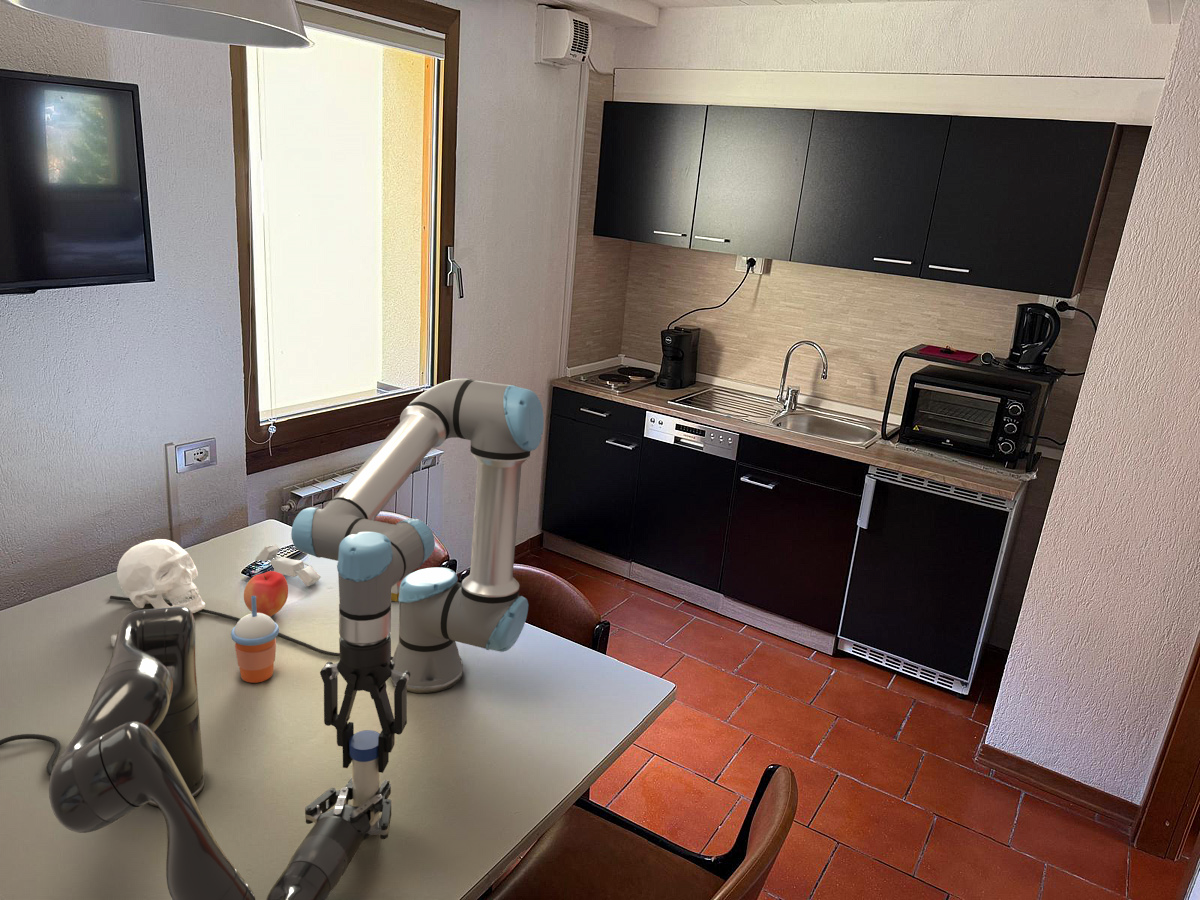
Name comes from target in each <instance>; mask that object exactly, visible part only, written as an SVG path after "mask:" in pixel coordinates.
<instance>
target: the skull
mask: <svg viewBox="0 0 1200 900" xmlns="http://www.w3.org/2000/svg"><path fill="white" fill-rule="evenodd" d="M198 575H199V572H198V569H197V566H196V565H195V562H194V560H193V558H192V556H191V555H190V553H189V552H188V551H186V550H185V549H184V548H182V547H181V546H180V545H179V544H178V543H177V542H175V541H173V540H169V539H165V538H156V539H149V540H146V541H143V542H140V543H137V544H136V545H133V546H132V547H130V548H129V549H128V550H126V552H124V553H123V555H122V556H121V557H120V559H119V562H118V564H117V567H116V578H117V583H118V584H119V587H120V588H121V590H122V591H123V593H124V594H125V595H126V596H127V598H130V600H131V601H130V602H131V603H132V604H133V605H134V606H135V607H136V608H139V609H143V608H145V605H151V606H152V607H153V609H158V608H169V607H187V608H189V609H190V610H191V612H192V614H195V613H197V612H199V611H200V610H202V609H205V606H206V602H205V601H204V600H203V599H202V597H201V595H200V593H199V592H200V590H199V588H198V587H197V586H196V584H195V583H194V582H193V580H195V579H196V578H197V577H198ZM188 597H189V598H188ZM165 600H167V601H169V603H172V605H173V606H169V605H168V604H167V603H168V602H166V601H165ZM175 604H176V605H175Z"/></svg>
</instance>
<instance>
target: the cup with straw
mask: <svg viewBox="0 0 1200 900" xmlns="http://www.w3.org/2000/svg"><path fill="white" fill-rule="evenodd" d="M251 603H252V611H251V613H248V614H246V615H244V616H243V617H241V618H240V620H239V621H237V623H236V624H235V626H234V627H233V628H231V631H230V638H231V640H232V641H233V642H234V643H235V644H234V648H235V649H234V650H235V655H236V659H237V660H236V661H237V665H238V667H239V672H240V678H241V679H242V680H243V681H245V682H246V683H251V684H255V683H261V682H264V681H267V680H269V679H270V678H272V676H273V674H274V667H275V666H274V664H275V661H276V651H277V649H276V648H277V637H278V636H277V635H278V633H280V626H279V625H278V623H277V622H276V621H274V620H273V618H272V617H271V616H270V617H269V616H268V615H266V614H263V613H257V609H256V596H251Z"/></svg>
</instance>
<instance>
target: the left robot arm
mask: <svg viewBox="0 0 1200 900" xmlns="http://www.w3.org/2000/svg"><path fill="white" fill-rule="evenodd" d="M116 635H117V637H116V641H115V645H114V647H113V650H112V654H111V657H110V660H109V663H108V664H107V666H106V669H105V671H104V673H103V675H102V677H101V679H100V681H99V682H98V685H97V687H96V689H95V692H94V693H93V697H92V700H91V702H90V705H89V707H88V709H87V710H86V713H85V716H84V717H83V719H82V721H81V723H80V726H79V728H78V730H77V731H76V733H75V734H74V736H73V738H72V739H71V741H70V742H69V743H68V744H67V745H66V748H65V749H64V750H63V752H62V753H61V754H60V751H61V748H62V747H61V746H62V745H61V742H60V740H58V739H57V738H55V737H52V736H50V735H45V734H40V733H20V734H14V735H11V736H7V737H4V738H1V739H0V746H2V745H4V744H7V743H9V742H13V741H18V740H19V741H20V740H38V741H45V742H49V743H51V744H53V745H54V749H53V752H52V754H51V756H50V757H49V760H48V762H47V764H46V767H45V768H46V773H47V774H48V776H50V778H49V783H48V796H49V802H50V807H51V810H52V812H53V814H54V816H55V818H56V819H57V821H58V822H59V823H60V825H62V827H64V828H66V829H68V830H69V831H70V832H71V831H72V832H74V833H78V834H87V833H91V832H92V833H93V832H96V831H99V830H101V829H103V828H105V827H108V826H110V825H112V824H113V823H116V821H119V820H120V819H122V818H124V817H126V816H127V815H129V814H130V813H132V812H134V811H137V810H138V809H139V808H141V807H143V806H144V805H146V804H149V805H151V806H153V807H157V808H159V810H160V812H161V813H162V815H163V818H164V821H165V826H166V836H167V841H166V842H167V843H166V844H167V845H166V846H167V847H166V861H165V862H166V866H165V867H166V868H165V871H166V872H165V877H166V885H167V890H168V892H169V896H170V898H171V900H256V895H255V894H254V892H253V890H252V889H251V887H250V885H249V884H248V883H247V881H246V880H245V879H244V877H243V876H242V875H241V873H239V871H238V870H237V868H236V867H235V866H234V864H232V862H231V861H230V859H229V858H228V857H227V856H226V854H225V853H224V851H223V850H222V848H221V846H220V845H219V843H218V841H217V839H215V837H214V835H213V833H212V831H211V829H210V827H209V825H208V823H207V821H206V819H205V817H204V815H203V813H202V812H201V809H200V807H199V805H198V803H197V802H196V800H195V797H196V796H197V795H199V794H200V792H202V790H203V788H204V787H205V783H206V782H205V781H206V779H205V778H206V777H205V774H204V760H203V759H204V758H203V744H202V730H201V717H200V705H199V691H198V690H199V689H198V680H197V679H198V678H197V666H196V665H197V664H196V623H195V617H194V613H192V612H191V610H190V609H189V608H187V607H169V608H158V609H155V608H147V609H138V610H135V611H132V612H131V611H130V612H129V613H127V614H126V615H125V616H124V617H123V618H122V620H121V622H120V624H119V627H118V630H117V632H116ZM166 667H167V668H166ZM59 754H60V756H59ZM58 756H59V757H58ZM56 759H57V760H56ZM55 761H56V762H55ZM391 794H392V784H391V783H390V780H388V779H384V780H383V781H382V783H381V784H380V788H379V789H378V791H377V792H376V795H375V796H374V797H373V798H372V799H371V800H370V801H365V802H364V803H363V804H362V805H361V806H360V807H354V806H353V805H351V804H349V801H353V796H352V777H350V779H349V780H348V782H347V783H346V784H345V786H344V787H341V788H340V790H338V789H336V788H335V787H330V788H328V789H327V790H326V791H324V792H323V793H321V795H319V796H318V797H317V798H315V799H314V800H313V801H312V802H310V803H309V804H308V805H306V806H305V808H304V815H305V816H304V817H305V819H304V820H305V823H306V824H307V825H311V824H313V823H314V825H313V826H312V828H310V830H309V832H307V834H306V836H305V837H304V839H303V840H302V842H301V843H300V844H299V846H298V847H297V849H296V850H295V852H294V853H293V855H292V856H291V858H290V860H289V861H288V863H287V866H286V867H285V868H284V870H283V871H282V873H281V874H280V875H279V877H278V878H277V880H276V881H275V882H274V884H273V886H272V887H271V889H270V890H269V892H268V894H267V896H266V899H265V900H327V898H328V896H329V895H330V893H331V892H332V891H333V890H334V889H335V887H336V886H337V885H338V883H339V882H340V880H341V879H342V877H343V876H344V875H345V873H346V872H347V869H348V867H349V866H350V864H351V862H352V861H353V859H354V858H355V856H356V854H357V853H358V851H359V849H360V848H361V845H362V843H363V842H364V841H366V840H367V839H368V838H369V837H370V836H378V835H379V839H380V840H386V839H388V838H389V833H390V828H391V821H392V820H391V819H392V809H393V808H392V803H393V802H392V800H391V798H389V797H390V796H391ZM333 807H334V808H333ZM380 813H381V815H380ZM377 814H379V815H380V817H379V818H378V821H376V823H375V824H374V825H372V826H371V825H370V823H371V822H372V821H373V820H374V817H375V816H376V815H377Z"/></svg>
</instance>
